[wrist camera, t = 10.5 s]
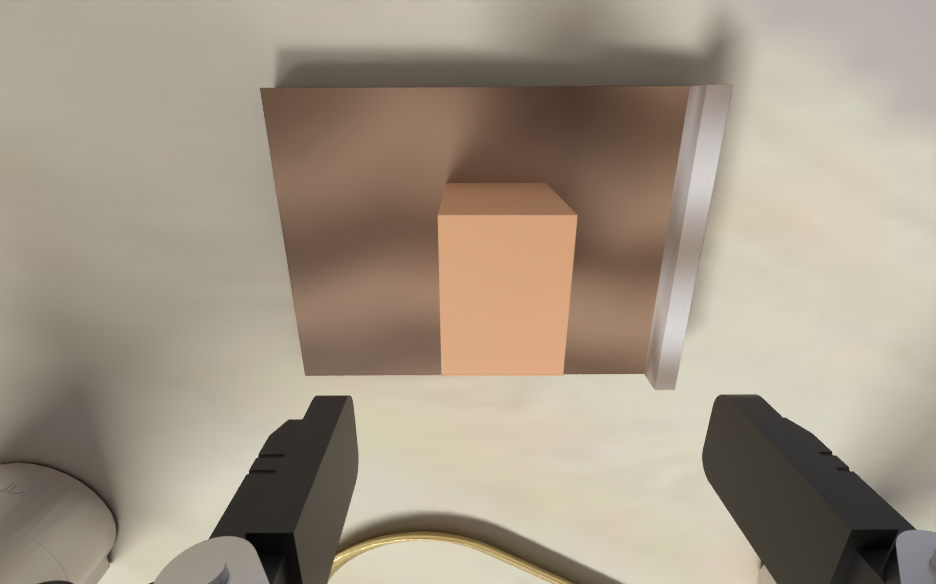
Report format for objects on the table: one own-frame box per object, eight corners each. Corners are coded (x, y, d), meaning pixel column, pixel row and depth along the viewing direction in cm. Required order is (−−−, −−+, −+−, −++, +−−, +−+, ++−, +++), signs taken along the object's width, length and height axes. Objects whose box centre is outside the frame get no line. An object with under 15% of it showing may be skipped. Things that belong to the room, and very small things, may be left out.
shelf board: (656, 359, 26) (678, 389, 23) (313, 361, 26) (295, 391, 23) (701, 87, 21) (738, 84, 18) (273, 88, 21) (244, 86, 18)
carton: (447, 304, 23) (441, 375, 17) (445, 182, 21) (437, 215, 15) (541, 304, 23) (567, 375, 17) (549, 182, 21) (582, 215, 15)
